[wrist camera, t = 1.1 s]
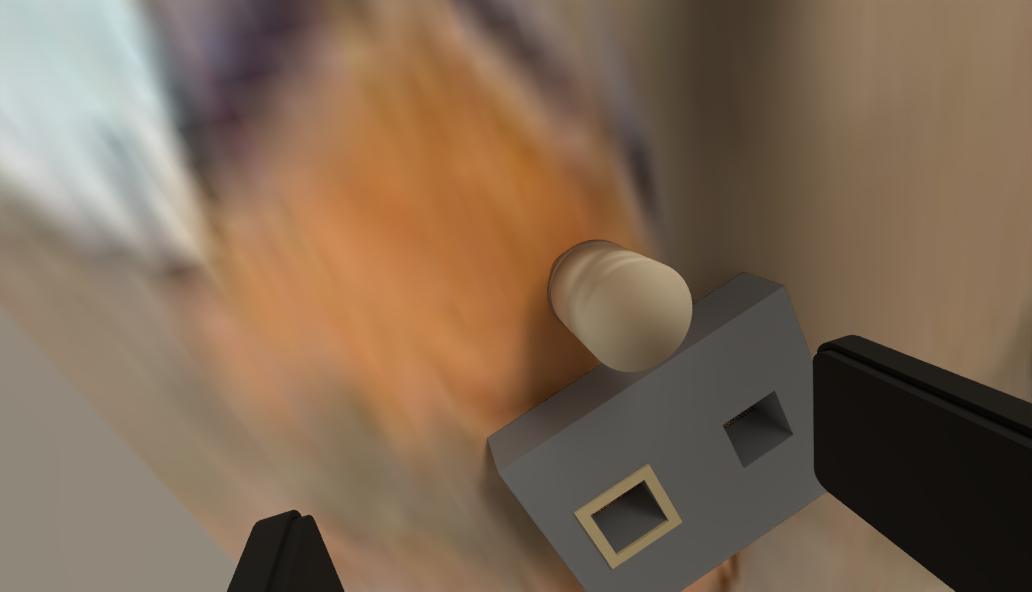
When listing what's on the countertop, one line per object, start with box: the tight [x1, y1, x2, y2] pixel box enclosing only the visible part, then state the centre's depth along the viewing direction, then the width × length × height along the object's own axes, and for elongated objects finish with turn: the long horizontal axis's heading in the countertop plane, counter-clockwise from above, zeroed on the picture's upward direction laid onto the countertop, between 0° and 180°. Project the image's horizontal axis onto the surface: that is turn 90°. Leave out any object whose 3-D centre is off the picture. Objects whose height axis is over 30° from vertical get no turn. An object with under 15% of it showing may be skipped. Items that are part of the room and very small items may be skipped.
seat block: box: [487, 272, 827, 592], centre depth 36 cm, size 22×18×4 cm
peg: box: [547, 240, 692, 372], centre depth 28 cm, size 6×6×10 cm
